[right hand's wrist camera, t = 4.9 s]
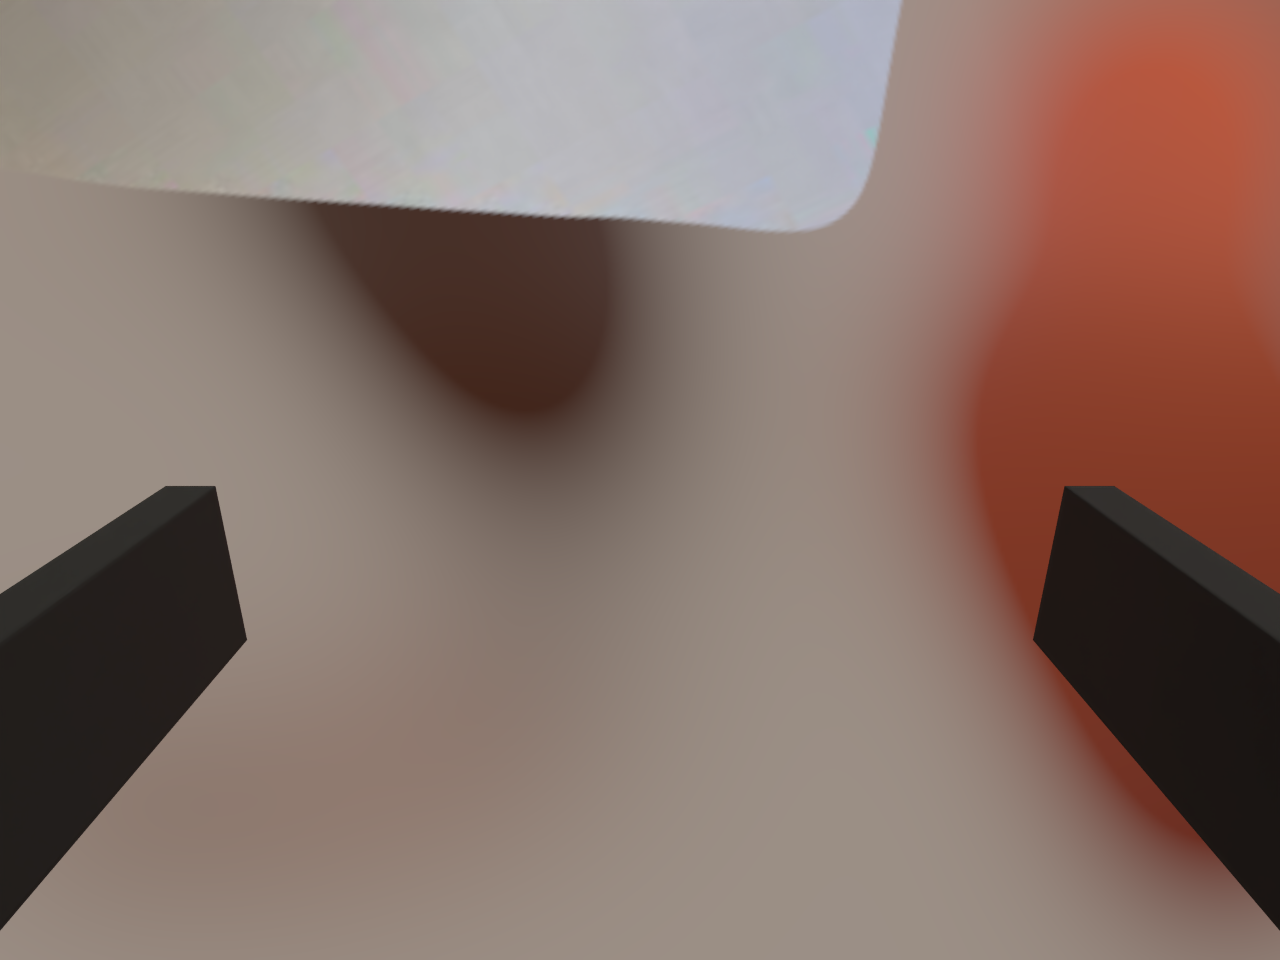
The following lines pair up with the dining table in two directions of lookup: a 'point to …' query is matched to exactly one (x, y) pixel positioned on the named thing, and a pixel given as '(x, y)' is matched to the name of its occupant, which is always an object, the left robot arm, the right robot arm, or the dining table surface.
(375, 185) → the dining table surface
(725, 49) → the dining table surface
